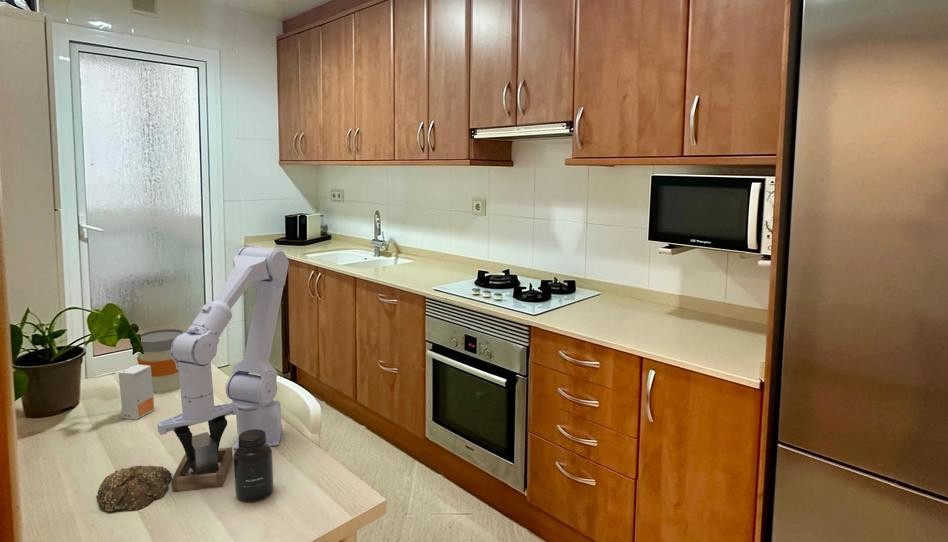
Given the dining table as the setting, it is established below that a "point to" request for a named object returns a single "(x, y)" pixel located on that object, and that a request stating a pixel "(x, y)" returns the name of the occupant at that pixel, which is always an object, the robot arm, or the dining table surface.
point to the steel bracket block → (204, 454)
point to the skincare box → (136, 391)
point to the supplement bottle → (253, 466)
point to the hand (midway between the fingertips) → (202, 456)
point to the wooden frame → (202, 480)
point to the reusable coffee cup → (160, 358)
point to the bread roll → (133, 488)
